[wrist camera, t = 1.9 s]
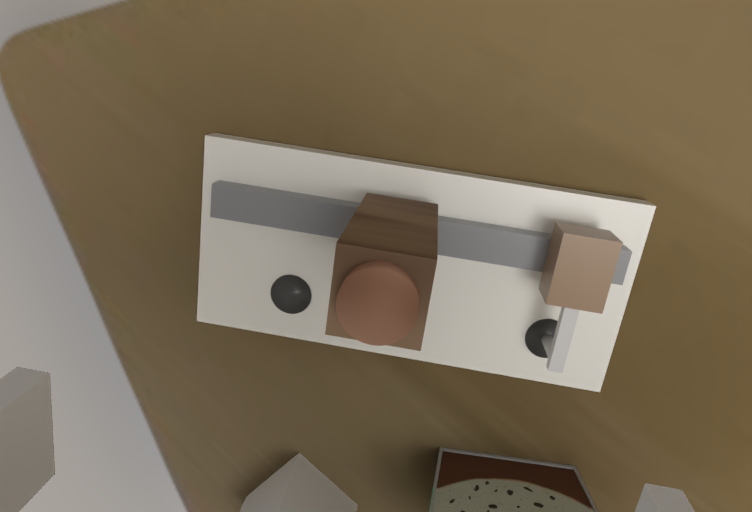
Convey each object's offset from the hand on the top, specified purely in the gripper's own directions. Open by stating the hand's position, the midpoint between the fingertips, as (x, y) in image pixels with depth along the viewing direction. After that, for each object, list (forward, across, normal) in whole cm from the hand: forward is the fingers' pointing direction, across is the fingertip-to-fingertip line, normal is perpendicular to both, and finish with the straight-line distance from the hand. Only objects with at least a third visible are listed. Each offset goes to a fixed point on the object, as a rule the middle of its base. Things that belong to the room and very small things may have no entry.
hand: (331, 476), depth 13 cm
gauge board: (+24, -1, +3) cm, 24 cm away
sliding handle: (+22, 0, +2) cm, 22 cm away
